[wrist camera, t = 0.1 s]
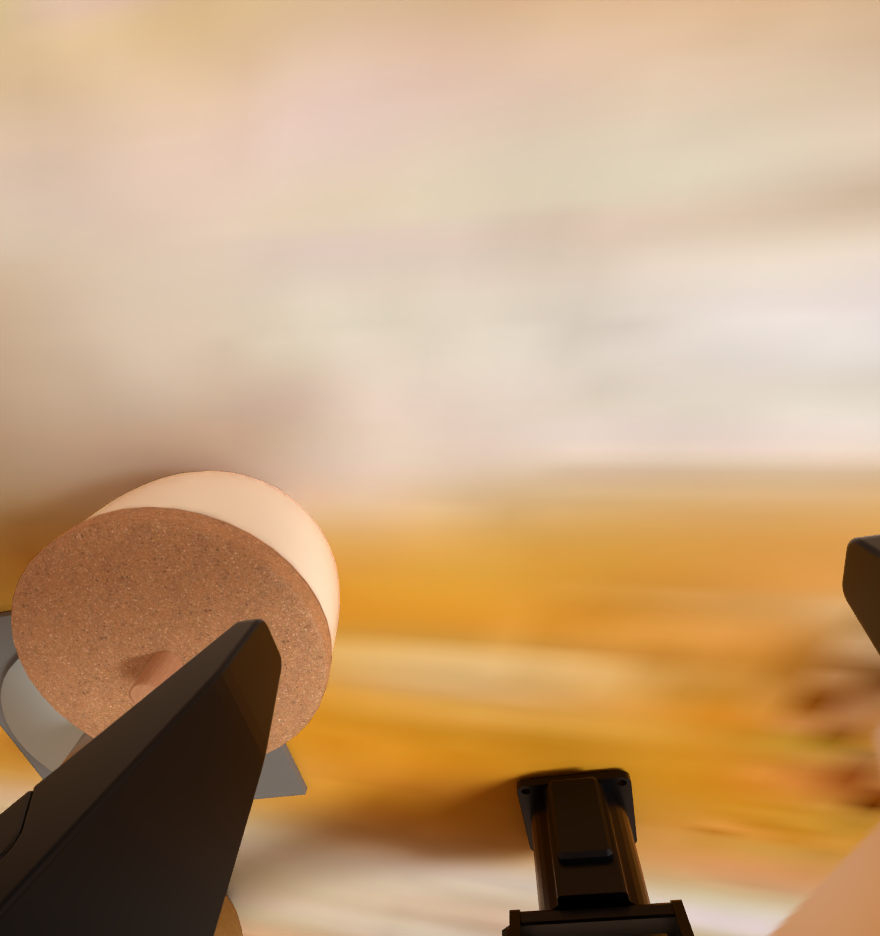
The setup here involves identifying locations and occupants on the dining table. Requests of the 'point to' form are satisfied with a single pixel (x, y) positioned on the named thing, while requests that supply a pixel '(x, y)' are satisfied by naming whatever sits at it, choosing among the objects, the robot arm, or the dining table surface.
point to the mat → (276, 770)
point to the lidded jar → (177, 596)
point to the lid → (38, 721)
